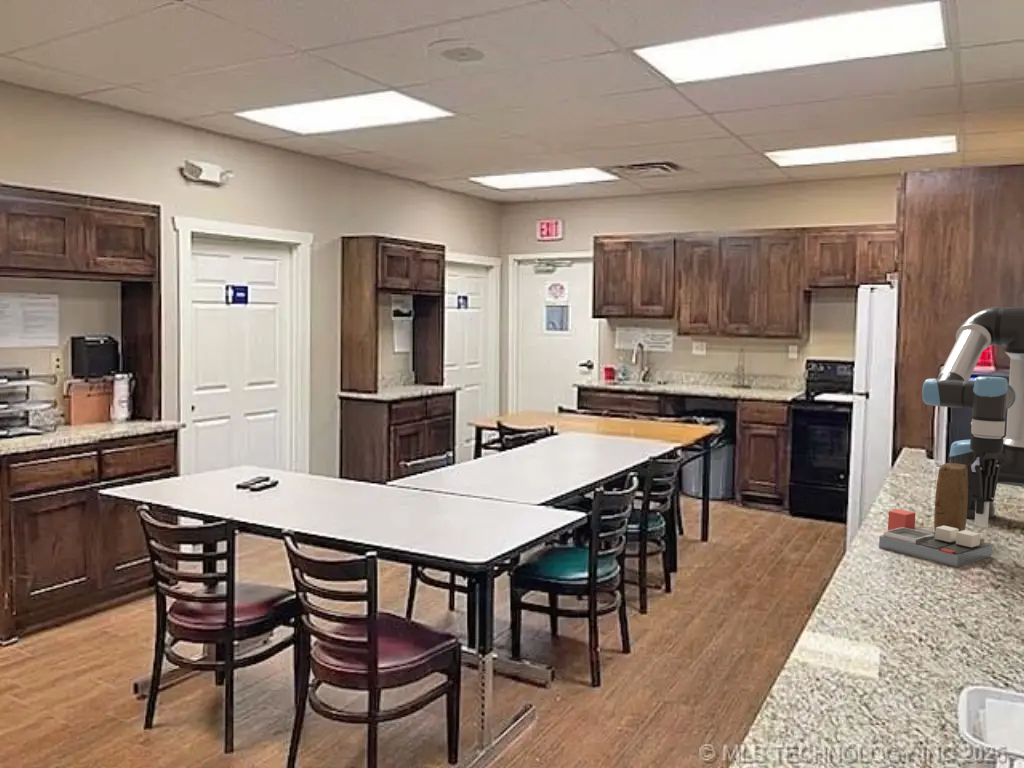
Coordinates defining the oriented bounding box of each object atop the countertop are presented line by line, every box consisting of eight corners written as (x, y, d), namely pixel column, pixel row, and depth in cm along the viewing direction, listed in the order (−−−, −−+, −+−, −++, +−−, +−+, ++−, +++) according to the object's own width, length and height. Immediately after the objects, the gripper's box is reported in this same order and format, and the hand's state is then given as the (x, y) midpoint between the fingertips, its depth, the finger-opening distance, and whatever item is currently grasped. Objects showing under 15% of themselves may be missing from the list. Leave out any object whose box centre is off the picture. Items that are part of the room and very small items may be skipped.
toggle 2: (963, 541, 222) (964, 530, 221) (979, 545, 218) (980, 533, 218) (955, 543, 219) (956, 532, 219) (971, 547, 216) (972, 535, 216)
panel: (913, 537, 238) (914, 523, 237) (991, 556, 220) (992, 540, 220) (878, 547, 228) (879, 531, 228) (957, 567, 211) (958, 550, 210)
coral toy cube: (897, 533, 243) (898, 509, 242) (914, 537, 239) (915, 512, 238) (887, 535, 240) (888, 511, 239) (904, 539, 236) (905, 515, 235)
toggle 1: (943, 536, 226) (943, 525, 226) (958, 540, 223) (958, 528, 223) (935, 538, 224) (935, 527, 224) (950, 542, 221) (950, 530, 220)
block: (960, 539, 236) (964, 468, 234) (931, 534, 241) (935, 465, 239) (968, 531, 245) (972, 463, 243) (940, 527, 249) (944, 460, 247)
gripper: (984, 432, 227) (979, 519, 229) (959, 436, 219) (953, 525, 221) (1014, 436, 221) (1008, 525, 223) (989, 439, 213) (983, 532, 215)
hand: (981, 525), depth 222 cm, fingers closed
